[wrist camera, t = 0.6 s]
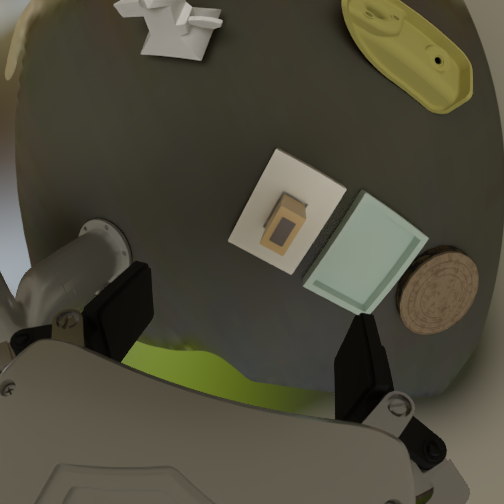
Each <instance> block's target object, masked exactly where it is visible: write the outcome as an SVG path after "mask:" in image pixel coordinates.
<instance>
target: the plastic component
mask: <svg viewBox="0 0 504 504" xmlns="http://www.w3.org/2000/svg"><path fill="white" fill-rule="evenodd" d="M342 12H343V16H344V20H345V23H346V25H347V28H348V30H349V32H350V34H351V36H352V38H353V40H354V41H355V43H356V44H357V46H358V47H359V49H360V50H361V52H362V53H363V54H364V56H365V57H366V58H367V59H368V60H369V61H370V62H371V63H372V64H373V66H374V67H376V68H377V69H378V70H379V71H380V72H381V73H382V74H383V75H384V76H386V77H387V78H388V79H390V80H391V81H392V82H394V83H395V84H396V85H398V86H399V87H400V88H402V89H403V90H404V91H406V92H407V93H408V94H409V95H411V96H412V97H413V98H414V99H416V100H417V101H418V102H419V103H420V104H422V105H423V106H424V107H425V108H426V109H427V110H429V111H431V112H433V113H436V114H446V113H449V112H450V111H452V110H454V109H455V108H457V107H458V106H460V105H462V104H463V103H465V102H466V101H468V100H469V99H470V98H471V96H472V94H473V71H472V66H471V63H470V61H469V60H468V58H467V57H466V55H465V54H464V53H463V52H462V51H461V50H460V49H459V48H458V47H457V46H456V45H455V44H454V43H453V42H452V41H451V40H450V39H449V38H448V37H446V36H445V35H444V34H443V33H442V32H441V31H439V30H438V29H437V28H436V27H435V26H433V25H432V24H431V23H430V22H429V21H427V20H426V19H425V18H423V17H422V16H421V15H419V14H418V13H417V12H415V11H414V10H413V9H411V8H410V7H408V6H407V5H406V4H404V3H403V2H401V1H400V0H342ZM436 57H438V58H439V59H440V63H439V64H437V63H436V62H435V58H436Z"/></svg>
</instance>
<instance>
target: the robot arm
mask: <svg viewBox="0 0 504 504" xmlns="http://www.w3.org/2000/svg"><path fill="white" fill-rule="evenodd" d="M107 282H110V284H109V285H108V286H107V287H106V288H104V289H103V290H102V291H101V292H100V289H101V287H102V286H104V285H105V284H106V283H107ZM94 294H98V295H97V296H96V297H95V298H94V299H93V300H92V301H91V302H90V303H88V304H87V305H86V306H85V307H84V311H83V312H82V313H80V312H79V311H78V309H79V308H80V307H81V306H82V305H83V304H84V303H85V302H87V301H88V300H89V299H90V298H91V297H92V296H93V295H94ZM153 315H154V309H153V296H152V280H151V269H150V268H149V267H148V264H146V263H143V262H139V261H135V262H133V263H132V257H131V251H130V247H129V244H128V242H127V240H126V238H125V237H124V235H123V233H122V232H121V231H120V230H119V229H118V228H117V227H116V226H115V225H114V224H112V223H111V222H109V221H107V220H105V219H100V218H97V219H92V220H90V221H88V222H87V223H85V224H84V225H83V226H82V228H81V230H80V233H79V237H78V238H76V239H74V240H73V241H71V242H70V243H68V244H66V245H65V246H63V247H62V248H60V249H59V250H57V251H55V252H54V253H52V254H51V255H49V256H48V257H46V258H45V259H43V260H42V261H40V262H39V263H38V264H36V265H35V266H33V267H32V268H30V269H29V270H28V271H27V272H26V273H25V274H24V276H23V277H22V279H21V281H20V283H19V286H18V289H17V293H16V298H14V296H13V295H12V294H11V292H10V290H9V288H8V286H7V284H6V282H5V280H4V278H3V276H2V274H1V272H0V504H465V503H466V502H467V500H468V498H469V495H470V492H469V488H468V485H467V484H466V483H465V481H464V479H463V478H462V476H461V475H460V473H459V472H458V470H457V469H456V467H455V466H454V464H453V463H452V461H451V460H450V459H449V460H448V461H447V460H446V458H445V457H446V452H447V449H446V445H445V443H444V441H443V440H442V439H441V438H439V437H438V436H437V435H436V434H434V433H433V432H432V431H431V430H430V429H428V428H427V427H426V426H425V425H424V424H422V423H421V422H420V421H419V420H418V419H416V418H415V417H414V416H413V414H414V412H415V406H414V403H413V401H412V399H411V398H410V397H409V396H408V395H407V394H405V393H403V392H400V391H394V387H393V382H392V377H391V372H390V368H389V364H388V359H387V355H386V351H385V348H384V346H382V345H381V342H380V338H379V334H378V330H377V326H376V322H375V319H374V316H373V315H372V314H366V313H360V314H359V315H356V316H355V317H354V319H353V321H352V324H351V326H350V328H349V330H348V332H347V335H346V337H345V339H344V341H343V343H342V345H341V347H340V349H339V351H338V353H337V355H336V357H335V361H334V375H335V419H327V418H320V417H313V416H307V415H301V414H294V413H289V412H283V411H277V410H272V409H267V408H262V407H258V406H253V405H249V404H245V403H240V402H236V401H232V400H229V399H225V398H221V397H217V396H213V395H210V394H207V393H203V392H200V391H197V390H194V389H190V388H187V387H184V386H181V385H178V384H175V383H172V382H169V381H166V380H164V379H161V378H158V377H155V376H153V375H150V374H147V373H145V372H142V371H140V370H137V369H135V368H131V367H130V366H127V365H125V364H123V363H121V361H122V360H123V358H124V357H125V356H126V354H127V353H128V351H129V350H130V349H131V347H132V346H133V345H134V343H135V342H136V340H137V339H138V338H139V336H140V335H141V334H142V332H143V331H144V330H145V328H146V327H147V326H148V324H149V323H150V322H151V320H152V318H153Z"/></svg>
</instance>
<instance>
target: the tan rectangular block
mask: <svg viewBox="0 0 504 504" xmlns="http://www.w3.org/2000/svg"><path fill="white" fill-rule="evenodd" d="M305 221H306V211H305V205H304V204H302V202H300V201H299V200H297V199H295V198H293V197H292V196H290V195H288V194H284V195H283V196H282V198H281V200H280V202H279V203H278V205H277V207H276V209H275V211H274V212H273V214H272V216H271V218H270V219H269V221H268V223H267V225H266V227H265V229H264V232H263V235H262V238H261V241H260V244H261V245H263V246H264V247H266V248H268V249H270V250H272V251H274V252H276V253H277V254H279V255H281V256H284V254H285V253H286V251H287V250H288V248H289V246H290V245H291V243H292V242H293V240H294V238H295V237H296V235H297V234H298V232H299V230H300V229H301V227H302V226H303V224H304V222H305Z"/></svg>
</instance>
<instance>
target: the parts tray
mask: <svg viewBox="0 0 504 504" xmlns="http://www.w3.org/2000/svg"><path fill="white" fill-rule="evenodd" d="M428 239H429V238H428V237H427V236H426V235H425V234H424V233H423V232H422V231H420V230H419V229H418V228H416V227H415V226H414V225H412V224H411V223H410V222H409V221H407V220H406V219H405V218H403V217H402V216H400V215H399V214H398V213H396V212H395V211H394V210H392V209H391V208H389V207H388V206H387V205H385V204H384V203H382V202H381V201H379V200H378V199H377V198H375V197H374V196H372V195H371V194H369V193H368V192H366V191H365V190H363V189H361V191H360V192H359V194H358V195H357V197H356V199H355V200H354V202H353V203H352V205H351V207H350V208H349V210H348V211H347V213H346V214H345V216H344V218H343V219H342V221H341V222H340V224H339V225H338V227H337V228H336V230H335V231H334V233H333V234H332V236H331V237H330V239H329V241H328V242H327V244H326V245H325V246H324V248H323V249H322V251H321V252H320V254H319V255H318V257H317V258H316V260H315V261H314V263H313V264H312V266H311V267H310V268H309V270H308V271H307V273H306V274H305V276H304V277H303V287H305V288H307V289H309V290H311V291H313V292H315V293H317V294H318V295H320V296H322V297H324V298H326V299H328V300H330V301H332V302H334V303H336V304H338V305H339V306H341V307H343V308H345V309H347V310H349V311H351V312H353V313H355V314H357V315H359V314H360V313H366V314H371V312H372V311H373V310H374V309H375V308H376V307H377V305H378V304H379V303H380V302H381V301H382V300H383V298H384V297H385V296H386V295H387V294H388V292H389V291H390V290H391V289H392V287H393V286H394V285H395V284H396V282H397V281H398V280H399V279H400V277H401V276H402V275H403V273H404V272H405V271H406V269H407V268H408V267H409V265H410V264H411V263H412V261H413V260H414V259H415V257H416V256H417V255H418V253H419V252H420V250H421V249H422V248H423V246H424V245H425V243H426V242H427V240H428Z"/></svg>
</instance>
